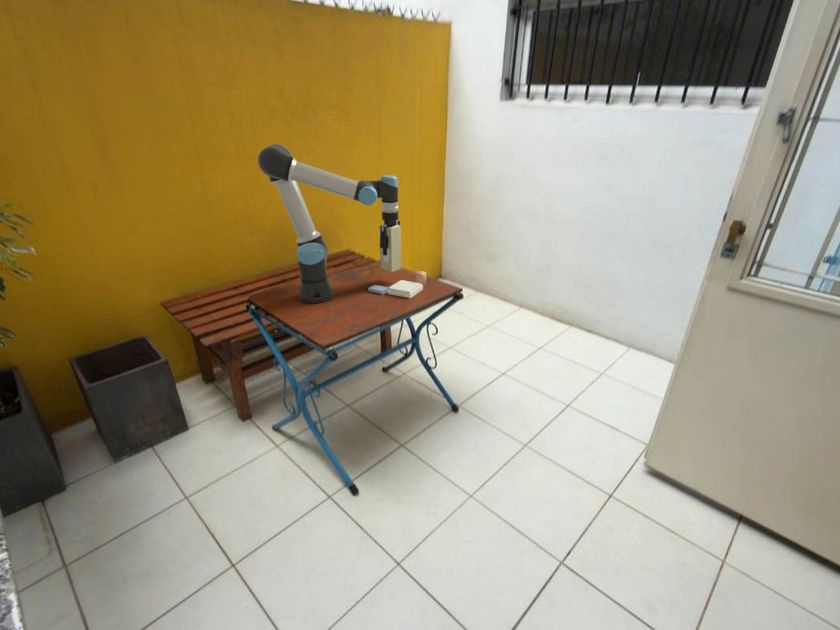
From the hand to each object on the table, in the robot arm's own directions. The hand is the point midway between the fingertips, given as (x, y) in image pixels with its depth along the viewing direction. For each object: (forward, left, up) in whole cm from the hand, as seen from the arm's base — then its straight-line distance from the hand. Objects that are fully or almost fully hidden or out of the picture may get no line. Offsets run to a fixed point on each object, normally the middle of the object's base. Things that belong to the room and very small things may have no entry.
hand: (391, 259), depth 206 cm
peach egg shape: (+15, +2, -11) cm, 19 cm away
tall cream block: (0, 0, -5) cm, 5 cm away
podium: (+13, -9, -11) cm, 19 cm away
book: (+1, -14, -12) cm, 18 cm away
